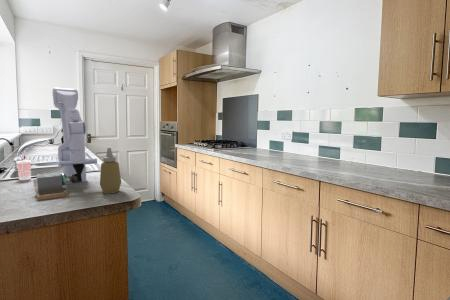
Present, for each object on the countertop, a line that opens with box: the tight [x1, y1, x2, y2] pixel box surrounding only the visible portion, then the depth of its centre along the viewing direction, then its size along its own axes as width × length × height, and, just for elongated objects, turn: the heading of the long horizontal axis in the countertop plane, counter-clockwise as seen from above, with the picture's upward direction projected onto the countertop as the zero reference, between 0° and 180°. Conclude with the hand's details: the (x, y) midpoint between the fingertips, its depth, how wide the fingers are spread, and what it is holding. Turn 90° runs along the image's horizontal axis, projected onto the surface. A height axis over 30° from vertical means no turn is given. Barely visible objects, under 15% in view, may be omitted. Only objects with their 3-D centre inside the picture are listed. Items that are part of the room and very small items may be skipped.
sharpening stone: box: [35, 172, 69, 202], centre depth 109 cm, size 10×22×7 cm, turn 37°
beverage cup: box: [15, 150, 32, 181], centre depth 133 cm, size 6×6×14 cm
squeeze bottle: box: [99, 147, 122, 194], centre depth 109 cm, size 8×8×18 cm
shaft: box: [32, 173, 79, 188], centre depth 110 cm, size 15×5×5 cm, turn 127°
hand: (79, 181), depth 115 cm, fingers closed
